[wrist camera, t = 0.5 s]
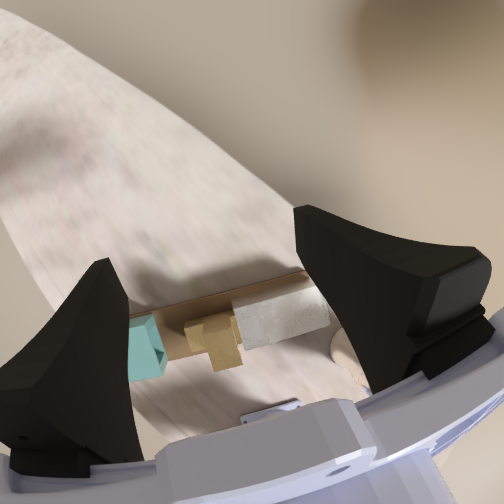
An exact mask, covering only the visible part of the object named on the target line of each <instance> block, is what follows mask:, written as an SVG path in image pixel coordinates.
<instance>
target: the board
mask: <svg viewBox="0 0 504 504" xmlns="http://www.w3.org/2000/svg"><path fill="white" fill-rule="evenodd" d="M307 278H309V275H308V273H307V272H306V270H303V271H300V272H296V273H292V274H289V275H285V276H282V277H278V278H274V279H271V280H267V281H263V282H260V283H256V284H252V285H249V286H245V287H241V288H237V289H234V290H230V291H226V292H222V293H218V294H215V295H211V296H207V297H203V298H199V299H195V300H191V301H187V302H183V303H179V304H175V305H171V306H167V307H163V308H159V309H155V310H151V311H147V312H142V313H138V314H134V315H130V316H129V318H130V319H132V318H136V317H141V316H145V315H149V314H153V316H154V319H155V322H156V325H157V328H158V331H159V334H160V337H161V340H162V343H163V346H164V349H165V352H166V355H167V358H168V361H171V360H175V359H180V358H184V357H189V356H193V355H197V354H201V353H206V352H208V351H207V349H204V350H199V351H195V352H191V349H190V346H189V343H188V340H187V337H186V334H185V331H184V327H185V323H186V321H190V320H194V319H198V318H202V317H206V316H210V315H214V314H218V313H222V312H226V311H230V310H233V307H232V303H231V299H235V298H238V297H242V296H246V295H250V294H253V293H257V292H261V291H264V290H268V289H271V288H275V287H279V286H282V285H286V284H289V283H293V282H296V281H300V280H303V279H307ZM237 343H238V344H241V343H242V340H239V341H237Z"/></svg>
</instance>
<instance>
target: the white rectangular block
mask: <svg viewBox="0 0 504 504" xmlns="http://www.w3.org/2000/svg"><path fill="white" fill-rule="evenodd" d="M231 303H232V307H233V310H234V314H235V318H236V321H237V325H238V328H239V332H240V336H241V339H242V343H243V346H244V350H245V351H247V350H250V349H254V348H257V347H261V346H265V345H268V344H272V343H275V342H278V341H282V340H285V339H288V338H292V337H295V336H298V335H301V334H305V333H308V332H311V331H314V330H317V329H320V328H323V327H326V326H329V325H331V323H330V318H329V313H328V308H327V303H326V299H325V298H324V297H323V295H322V294H321V292H320V291H319V289H318V288H317V287H316V285H315V284H314V282H313V281H312V279H311V278H307V279H303V280H300V281H296V282H293V283H289V284H286V285H282V286H279V287H275V288H271V289H268V290H264V291H261V292H257V293H253V294H250V295H246V296H242V297H238V298H235V299H231Z"/></svg>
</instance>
